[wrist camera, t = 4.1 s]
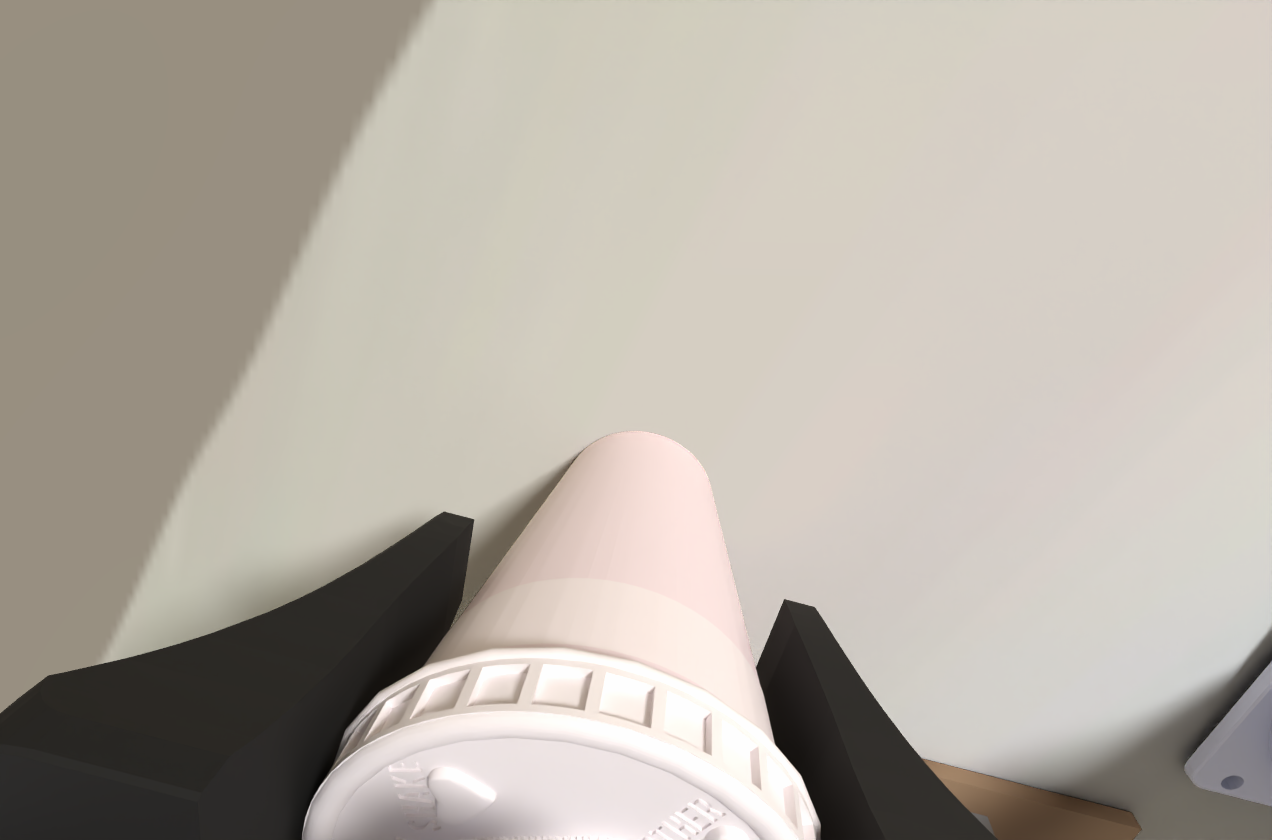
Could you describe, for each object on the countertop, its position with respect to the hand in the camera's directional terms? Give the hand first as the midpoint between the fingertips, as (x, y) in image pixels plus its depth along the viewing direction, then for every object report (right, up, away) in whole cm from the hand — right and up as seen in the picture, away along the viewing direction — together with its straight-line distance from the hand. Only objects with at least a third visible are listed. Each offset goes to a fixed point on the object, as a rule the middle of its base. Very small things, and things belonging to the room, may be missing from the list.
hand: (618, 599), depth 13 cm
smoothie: (0, +2, +4) cm, 4 cm away
